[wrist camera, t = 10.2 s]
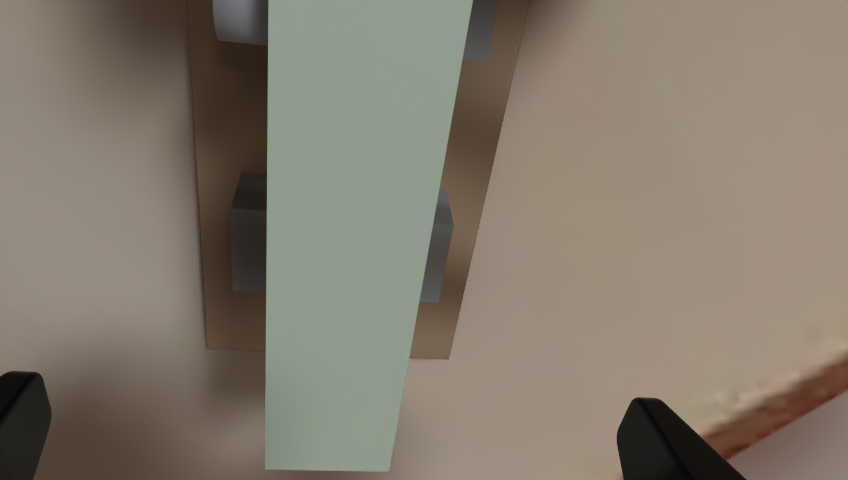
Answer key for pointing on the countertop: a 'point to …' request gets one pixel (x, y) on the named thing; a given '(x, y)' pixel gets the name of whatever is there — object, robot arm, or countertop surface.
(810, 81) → the countertop surface
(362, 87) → the door
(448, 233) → the board
